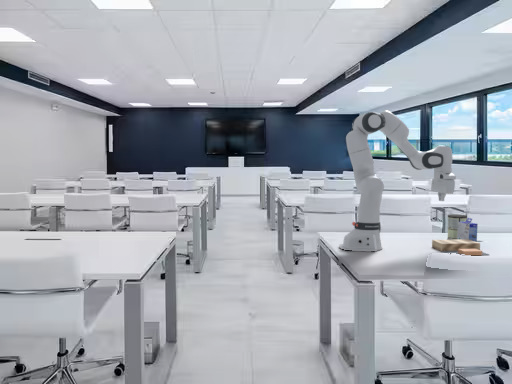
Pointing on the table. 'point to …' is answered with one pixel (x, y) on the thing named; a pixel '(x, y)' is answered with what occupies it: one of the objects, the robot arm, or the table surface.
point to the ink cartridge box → (467, 230)
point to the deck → (455, 244)
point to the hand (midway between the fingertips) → (441, 200)
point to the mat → (458, 253)
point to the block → (470, 251)
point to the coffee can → (454, 225)
